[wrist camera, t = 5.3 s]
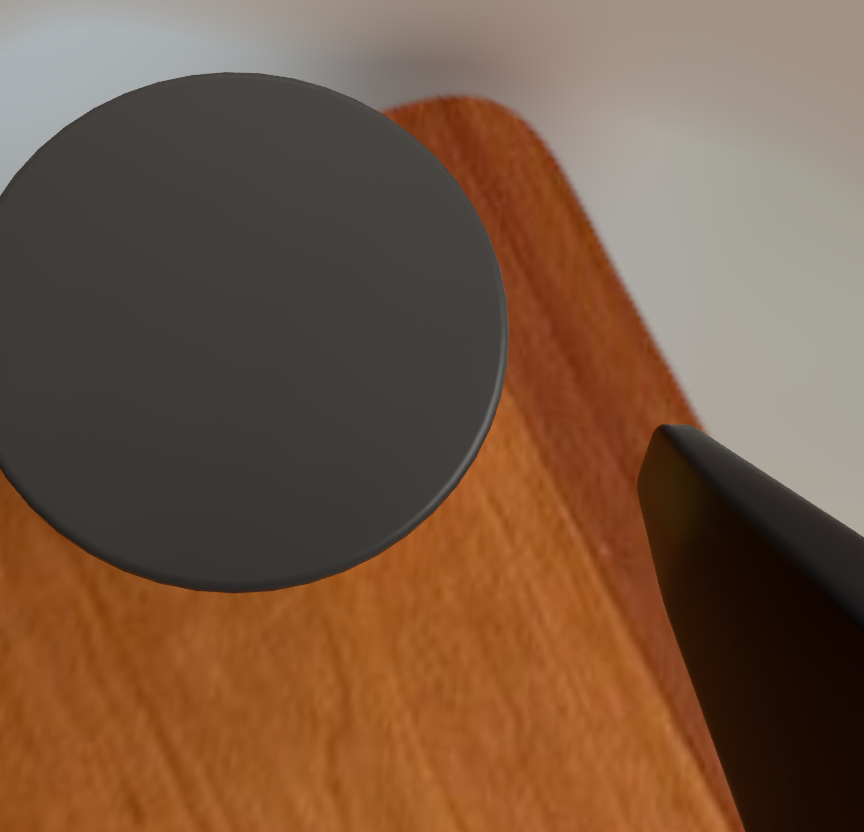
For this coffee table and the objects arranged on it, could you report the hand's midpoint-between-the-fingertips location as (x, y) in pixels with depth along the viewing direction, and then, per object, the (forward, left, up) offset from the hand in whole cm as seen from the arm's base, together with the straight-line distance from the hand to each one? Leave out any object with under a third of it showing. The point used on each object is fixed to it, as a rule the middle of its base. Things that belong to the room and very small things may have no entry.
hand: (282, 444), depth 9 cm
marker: (0, 0, -8) cm, 8 cm away
